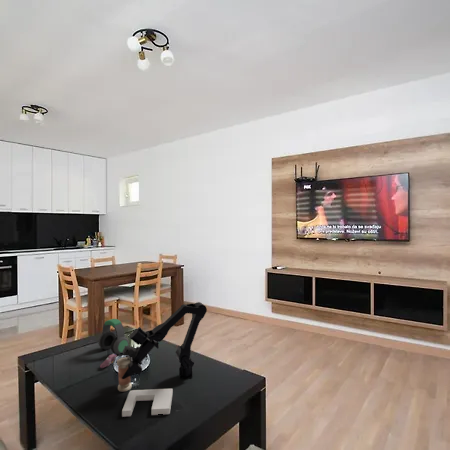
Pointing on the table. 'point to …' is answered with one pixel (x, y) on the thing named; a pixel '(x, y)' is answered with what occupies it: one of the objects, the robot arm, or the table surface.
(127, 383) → the bobbin
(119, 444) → the table surface
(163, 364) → the table surface
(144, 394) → the notched board
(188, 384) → the table surface
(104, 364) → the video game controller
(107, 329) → the headphones
